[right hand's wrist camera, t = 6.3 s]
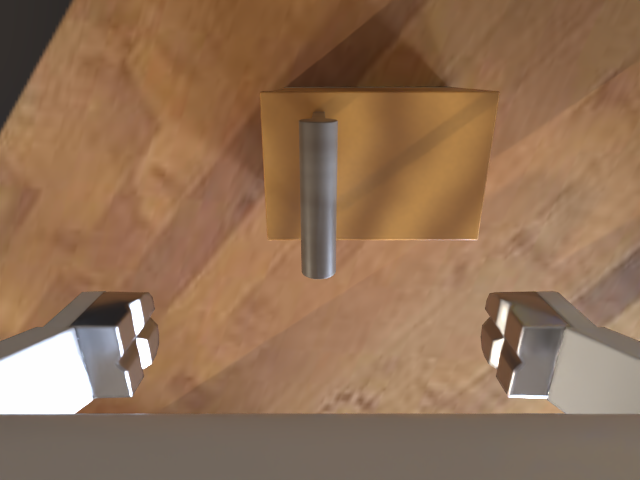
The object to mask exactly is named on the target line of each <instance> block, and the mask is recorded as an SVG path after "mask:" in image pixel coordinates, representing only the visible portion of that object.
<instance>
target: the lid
mask: <svg viewBox="0 0 640 480" xmlns="http://www.w3.org/2000/svg"><path fill="white" fill-rule="evenodd" d="M499 95H500V92H499V91H262V92H260V109H261V127H262V146H263V165H264V184H265V203H266V222H267V239H268V240H301V261H302V273H303V275H304V276H306V277H308V278H312V279H325V278H329V277H331V276H333V275H334V274H335V272H336V240H477V239H478V234H479V227H480V221H481V214H482V207H483V201H484V194H485V187H486V181H487V174H488V168H489V161H490V154H491V148H492V141H493V134H494V128H495V121H496V115H497V108H498V101H499Z"/></svg>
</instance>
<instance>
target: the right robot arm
mask: <svg viewBox="0 0 640 480" xmlns="http://www.w3.org/2000/svg"><path fill="white" fill-rule="evenodd" d="M154 310H155V307H154V302H153V297H152V296H151V295H150V294H149V292H106V291H94V292H82V293H81V294H80V295H79V296H77V297H76V298H75V299H74V300H73V301H72V302H71V303H70V304H68V305H67V306H66V307H65V308H64V309H63V310H62V311H61V312H59V313H58V314H57V315H56V316H55V317H54V318H53V319H52V320H50V321H49V322H48V323H47V324H46V325H45V326H44V327H35V328H33V329H30V330H28V331H25V332H23V333H20V334H18V335H15V336H13V337H10V338H8V339H5V340H3V341H0V480H640V341H637V340H635V339H632V338H630V337H627V336H625V335H622V334H620V333H617V332H615V331H612V330H610V329H607V328H605V327H596V326H595V325H594V324H593V323H592V322H591V321H590V320H588V319H587V318H586V317H585V316H584V315H583V314H582V313H581V312H580V311H578V310H577V309H576V308H575V307H574V306H573V305H572V304H571V303H569V302H568V301H567V300H566V299H565V298H564V297H563V296H562V295H560V294H559V293H558V292H554V291H543V292H495V293H490V294H489V296H488V298H487V301H486V307H485V310H486V311H487V313H488V314H489V316H490V318H489V319H488V320H487V321H486V322H485V323H484V324H483V325H482V331H481V345H482V351H483V354H484V357H485V358H486V360H487V362H488V364H490V365H492V366H493V367H495V368H496V369H497V374H496V377H497V379H498V381H499V382H500V384H501V386H502V387H503V389H504V391H505V392H506V394H507V396H508V397H520V398H547V400H548V401H549V402H551V403H552V404H553V405H555V406H556V407H557V408H559V409H560V410H561V411H563V412H564V413H566V414H75V413H76V412H77V411H79V410H80V409H81V408H83V407H84V406H85V405H87V404H88V403H89V402H91V401H92V400H93V399H92V398H119V397H132V396H133V394H134V392H135V391H136V389H137V387H138V386H139V384H140V382H141V381H142V379H143V377H144V374H143V369H144V368H145V367H147V366H148V365H150V364H152V362H153V360H154V358H155V356H156V354H157V350H158V346H159V330H158V325H157V324H156V323H155V322H154V321H153V320H152V319H151V318H150V316H151V314H152V313H153V311H154Z"/></svg>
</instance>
